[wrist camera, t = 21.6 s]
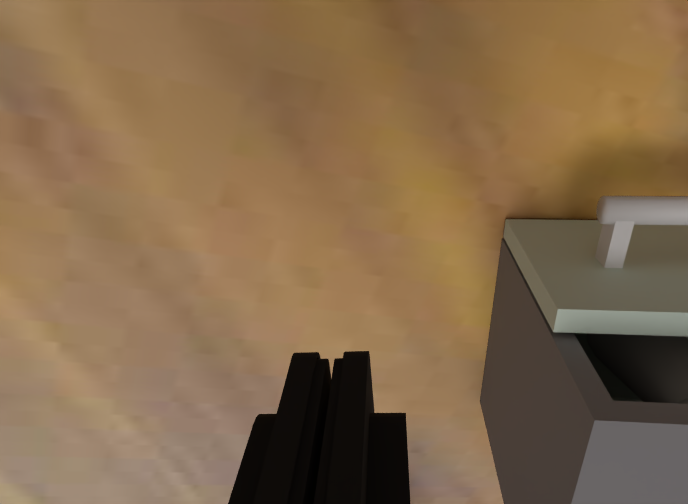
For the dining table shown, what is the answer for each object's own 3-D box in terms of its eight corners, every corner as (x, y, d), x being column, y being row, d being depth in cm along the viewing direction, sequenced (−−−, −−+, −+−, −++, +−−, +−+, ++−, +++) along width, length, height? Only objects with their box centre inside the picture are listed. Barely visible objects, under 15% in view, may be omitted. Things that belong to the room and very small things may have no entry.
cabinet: (501, 238, 35) (594, 420, 19) (760, 242, 34) (1096, 444, 18) (480, 401, 42) (534, 634, 26) (693, 410, 41) (890, 665, 25)
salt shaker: (675, 305, 35) (816, 446, 23) (618, 356, 38) (721, 507, 26) (614, 267, 34) (729, 394, 23) (559, 322, 37) (638, 463, 25)
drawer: (513, 163, 33) (573, 234, 22) (795, 164, 31) (1009, 240, 20) (482, 390, 42) (514, 519, 31) (700, 400, 40) (814, 540, 29)
